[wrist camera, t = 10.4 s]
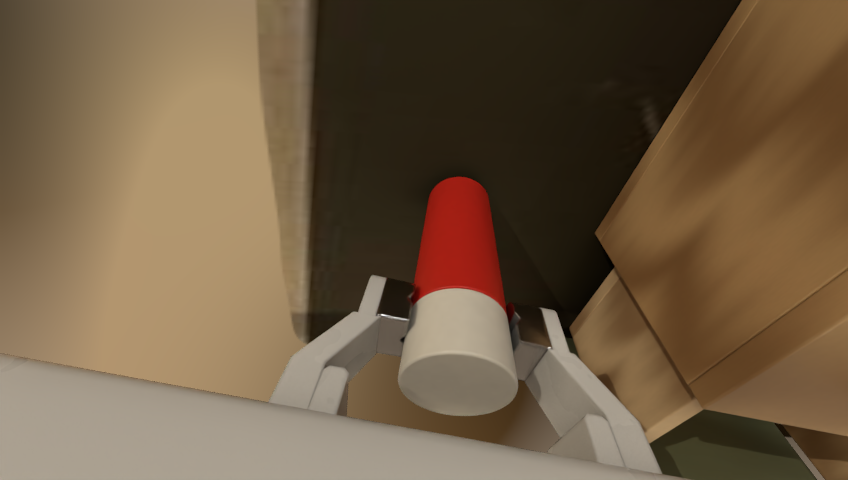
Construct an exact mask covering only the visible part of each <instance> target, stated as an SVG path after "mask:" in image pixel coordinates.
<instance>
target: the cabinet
mask: <svg viewBox="0 0 848 480" xmlns="http://www.w3.org/2000/svg"><path fill="white" fill-rule="evenodd" d="M595 235H596V236H597V238H598V239H599V241H600V243H601V244H602V246H603V248H604V249H605V251H606V253H607V254H608V256H609V257H610V259H611V261H612V262H613V264H614V266H615V267H616V269H617V271H618V272H619V274H620V275H621V277H622V279H623V280H624V282H625V284H626V285H627V287H628V289H629V290H630V292H631V293H632V295H633V297H634V298H635V300H636V302H637V303H638V305H639V307H640V308H641V310H642V311H643V313H644V315H645V316H646V318H647V320H648V321H649V323H650V324H651V326H652V328H653V329H654V331H655V333H656V334H657V336H658V338H659V339H660V341H661V342H662V344H663V346H664V347H665V349H666V351H667V352H668V354H669V356H670V357H671V359H672V360H673V362H674V364H675V365H676V367H677V369H678V370H679V372H680V374H681V375H682V377H683V378H684V380H685V382H686V383H687V384H688V385H689V388H690V389H691V391H692V392H693V394H694V396H695V397H696V399H697V401H698V402H699V404H700V406H701V407H702V408H703V409H706V410H711V411H716V412H722V413H727V414H732V415H737V416H743V417H748V418H753V419H758V420H764V421H769V422H774V423H780V424H785V425H790V426H795V427H801V428H806V429H811V430H816V431H822V432H827V433H832V434H838V435H843V436H848V0H742V1H741V3H740V4H739V6H738V7H737V9H736V10H735V12H734V14H733V15H732V17H731V18H730V20H729V22H728V23H727V25H726V26H725V28H724V29H723V31H722V33H721V34H720V36H719V37H718V39H717V40H716V42H715V44H714V45H713V47H712V48H711V50H710V52H709V53H708V55H707V56H706V58H705V59H704V61H703V63H702V64H701V66H700V67H699V69H698V71H697V72H696V74H695V75H694V77H693V78H692V80H691V82H690V83H689V85H688V86H687V88H686V89H685V91H684V93H683V94H682V96H681V97H680V99H679V101H678V102H677V104H676V105H675V107H674V108H673V110H672V112H671V113H670V115H669V116H668V118H667V119H666V121H665V123H664V124H663V126H662V127H661V129H660V131H659V132H658V134H657V135H656V137H655V138H654V140H653V142H652V143H651V145H650V146H649V148H648V150H647V151H646V153H645V154H644V156H643V157H642V159H641V161H640V162H639V164H638V165H637V167H636V168H635V170H634V172H633V173H632V175H631V176H630V178H629V180H628V181H627V183H626V184H625V186H624V187H623V189H622V191H621V192H620V194H619V195H618V197H617V198H616V200H615V202H614V203H613V205H612V206H611V208H610V210H609V211H608V213H607V214H606V216H605V217H604V219H603V221H602V222H601V224H600V225H599V227H598V228H597V230H596V232H595Z"/></svg>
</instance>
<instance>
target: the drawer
mask: <svg viewBox="0 0 848 480" xmlns="http://www.w3.org/2000/svg"><path fill="white" fill-rule="evenodd" d="M569 329H570V332H571V335H572V337H573V339H572V338H566V337H565V339H566V342H567V345H568V348H569V351H570V353H573V354H575V355H576V356H577V357H578V358H579V359H580V360H581V361H582V362H583V363H584V364H585V365H586V366H587V367H588V368H589V370H590V371H591V372H592V373H593V374H594V375H595V376H596V377H597V378H598V379H599V380H600V381H601V382H602V383H603V384H604V385H605V386H606V387H607V388H608V389H609V390H610V392H611V393H612V394H613V395H614V396H615V397H616V398H617V399H618V400H619V401H620V402H621V403H622V404H623V405H624V406H625V407H626V408H627V409H628V410H629V411H630V413H631V414H632V415H633V416H634V417H635V418H636V419H637V420H638V421H639V422H640V424H641V427H642V429H643V431H644V433H645V436H646V438H647V440H648V442H649V445H650V447H651V449H652V452H653V454H654V456H655V458H656V461H657V463H658V465H659V467H660V470H661V472H662V474H664V475H669V476H675V477H680V478H686V479H691V480H817V479H816V478H815V476H814V475H813V474H812V472H811V471H810V470H809V468H808V467H807V466H806V465H805V463H804V462H803V461H802V459H801V458H800V457H799V455H798V454H797V453H796V451H795V450H794V449H793V448H792V447H791V445H790V444H789V442H788V441H787V440H786V438H785V437H784V436H783V434H782V433H781V432H780V431H779V429H778V428H777V427H776V425H775V424H774V423H773V422H769V421H764V420H758V419H753V418H748V417H743V416H737V415H732V414H727V413H722V412H716V411H711V410H706V409H703V408H702V407H701V406H700V404H699V402H698V401H697V399H696V397H695V396H694V394H693V392H692V391H691V389H690V388H689V385H688V384H687V383H686V382H685V380H684V378H683V377H682V375H681V374H680V372H679V370H678V369H677V367H676V365H675V364H674V362H673V360H672V359H671V357H670V356H669V354H668V352H667V351H666V349H665V347H664V346H663V344H662V342H661V341H660V339H659V338H658V336H657V334H656V333H655V331H654V329H653V328H652V326H651V324H650V323H649V321H648V320H647V318H646V316H645V315H644V313H643V311H642V310H641V308H640V307H639V305H638V303H637V302H636V300H635V298H634V297H633V295H632V293H631V292H630V290H629V289H628V287H627V285H626V284H625V282H624V280H623V279H622V277H621V275H620V274H619V272H618V271H617V269H616V267H614V268H613V270H612V271H611V272H610V274H609V275H608V276H607V278H606V279H605V280H604V282H603V283H602V284H601V286H600V287H599V288H598V290H597V291H596V292H595V294H594V295H593V296H592V298H591V299H590V300H589V302H588V303H587V304H586V306H585V307H584V309H583V310H582V311H581V313H580V314H579V315H578V317H577V318H576V319H575V321H574V322H573V323H572V325H571V326H570V327H569ZM782 425H783V426H784V428H785V429H786V430H787V432H788V433H789V434H790V435H791V437H792V438H793V439H794V441H795V442H796V443H797V444H798V446H799V447H800V448H801V449H802V451H803V452H804V453H805V454H806V456H807V457H808V458H809V460H810V461H811V462H812V463H813V465H814V466H815V467H816V468H817V470H818V471H819V472H820V474H821V475H822V476H823V478H824V479H825V480H848V436H843V435H838V434H832V433H827V432H822V431H816V430H811V429H806V428H801V427H795V426H790V425H785V424H782Z"/></svg>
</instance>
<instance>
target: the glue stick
mask: <svg viewBox="0 0 848 480" xmlns="http://www.w3.org/2000/svg"><path fill="white" fill-rule="evenodd" d="M414 284H416V286H415V293H414V297H413V302H412V304H413V305H412V310H411V316H410V321H409V326H408V331H407V336H405V339H404V345H403V351H402V356H401V362H400V368H399V374H398V383H399V387H400V389H401V391H402V392H403V394H404V395H405V396H406V397H407V398H408V399H409V400H411V401H412V402H413V403H415V404H417V405H418V406H420V407H423V408H425V409H428V410H430V411H434V412H437V413H441V414H447V415H455V416H474V415H482V414H487V413H491V412H493V411H496V410H499V409H501V408H503V407H504V406H506V405H508V404H509V403H510V402H511V401H512V400H513V399H514V397H515V396H516V393H517V390H518V380H517V374H516V367H515V361H514V355H513V349H512V342H511V336H510V330H509V323H508V317H507V311H506V304H505V298H504V292H503V286H502V279H501V273H500V267H499V260H498V254H497V248H496V241H495V235H494V229H493V223H492V216H491V210H490V204H489V198H488V195H487V192H486V191H485V189H484V188H483V187H482V186H481V185H480V184H479V183H478V182H476V181H474V180H472V179H470V178H466V177H452V178H448V179H446V180H444V181H442V182H440V183H439V184H437V185H436V186H435V187H434V189H433V190H432V192H431V193H430V196H429V199H428V205H427V211H426V217H425V223H424V228H423V234H422V240H421V246H420V252H419V258H418V263H417V269H416V275H415V281H414Z"/></svg>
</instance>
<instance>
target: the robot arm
mask: <svg viewBox="0 0 848 480" xmlns="http://www.w3.org/2000/svg"><path fill="white" fill-rule="evenodd" d="M415 286H416V284H413V283H409V282H404V281H400V280H395V279H391V278H384V277H380V276H376V275H372V276H371V277H370V279H369V282H368V285H367V288H366V291H365V294H364V297H363V300H362V302H361V305H360V308H359V311H358V312H352V313H351V314H349V315H348V316H347V317H345V318H344V319H343V320H341V321H340V322H338V323H337V324H336V325H334V326H333V327H331V328H330V329H329V330H327V331H326V332H324V333H323V334H322V335H320V336H319V337H317V338H316V339H315V340H313V341H312V342H311V343H309V344H308V345H306V346H305V347H304V348H302V349H301V350H299V351H298V352H297V353H296V354H294V355H293V356H291V358H290V360H289V362H288V364H287V366H286V368H285V370H284V372H283V374H282V376H281V378H280V380H279V382H278V384H277V386H276V388H275V390H274V392H273V394H272V396H271V398H270V399H269V402H264V401H259V400H253V399H248V398H242V397H237V396H231V395H226V394H220V393H215V392H209V391H204V390H198V389H193V388H187V387H182V386H176V385H171V384H165V383H159V382H155V381H149V380H144V379H138V378H132V377H127V376H121V375H116V374H110V373H105V372H100V371H94V370H89V369H83V368H78V367H72V366H67V365H62V364H56V363H50V362H45V361H40V360H35V359H29V358H23V357H18V356H13V355H8V354H2V353H0V480H691V479H686V478H680V477H675V476H669V475H664V474H662V472H661V470H660V467H659V465H658V463H657V461H656V458H655V456H654V454H653V452H652V449H651V447H650V445H649V442H648V440H647V438H646V436H645V433H644V431H643V429H642V427H641V424H640V422H639V421H638V420H637V419H636V418H635V417H634V416H633V415H632V414H631V413H630V411H629V410H628V409H627V408H626V407H625V406H624V405H623V404H622V403H621V402H620V401H619V400H618V399H617V398H616V397H615V396H614V395H613V394H612V393H611V392H610V390H609V389H608V388H607V387H606V386H605V385H604V384H603V383H602V382H601V381H600V380H599V379H598V378H597V377H596V376H595V375H594V374H593V373H592V372H591V371H590V370H589V368H588V367H587V366H586V365H585V364H584V363H583V362H582V361H581V360H580V359H579V358H578V357H577V356H576V355H575V354H573V353H570V351H569V348H568V345H567V342H566V339H565V336H564V333H563V330H562V327H561V324H560V321H559V318H558V315H557V313H556V312H555V311H554V310H550V309H545V308H538V307H534V306H528V305H523V304H517V303H512V302H510V303H509V304H507V306H506V311H507V317H508V323H509V330H510V336H511V342H512V349H513V355H514V361H515V367H516V374H517V379H519V380H524V381H525V383H526V385H527V386H528V388H529V389H530V391H531V392H532V394H533V396H534V397H535V399H536V400H537V402H538V404H539V405H540V407H541V408H542V410H543V411H544V413H545V415H546V416H547V418H548V419H549V421H550V423H551V424H552V426H553V427H554V429H555V430H556V432H557V434H558V435H559V437H560V439H559V440H558V441H557V442H556V443H555V444H554V445H553V446H551V447H550V448H549V450H548V451H547V453H543V452H538V451H533V450H527V449H522V448H516V447H511V446H506V445H505V446H504V445H500V444H495V443H488V442H484V441H478V440H472V439H467V438H462V437H456V436H451V435H445V434H440V433H434V432H429V431H423V430H417V429H412V428H407V427H401V426H396V425H390V424H385V423H379V422H374V421H368V420H363V419H357V418H352V417H347V400H348V382H349V381H350V380H351V379H352V378H353V377H354V376H355V375H356V374H357V373H358V372H359V371H360V370H361V369H362V368H363V367H364V366H365V365H366V364H367V363H368V362H369V361H370V360H371V359H372V357H374V355H375V354H376V353H382V354H388V355H394V356H402V351H403V345H404V339H405V336H407V331H408V326H409V321H410V316H411V310H412V305H413V304H412V302H413V297H414V293H415Z"/></svg>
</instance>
